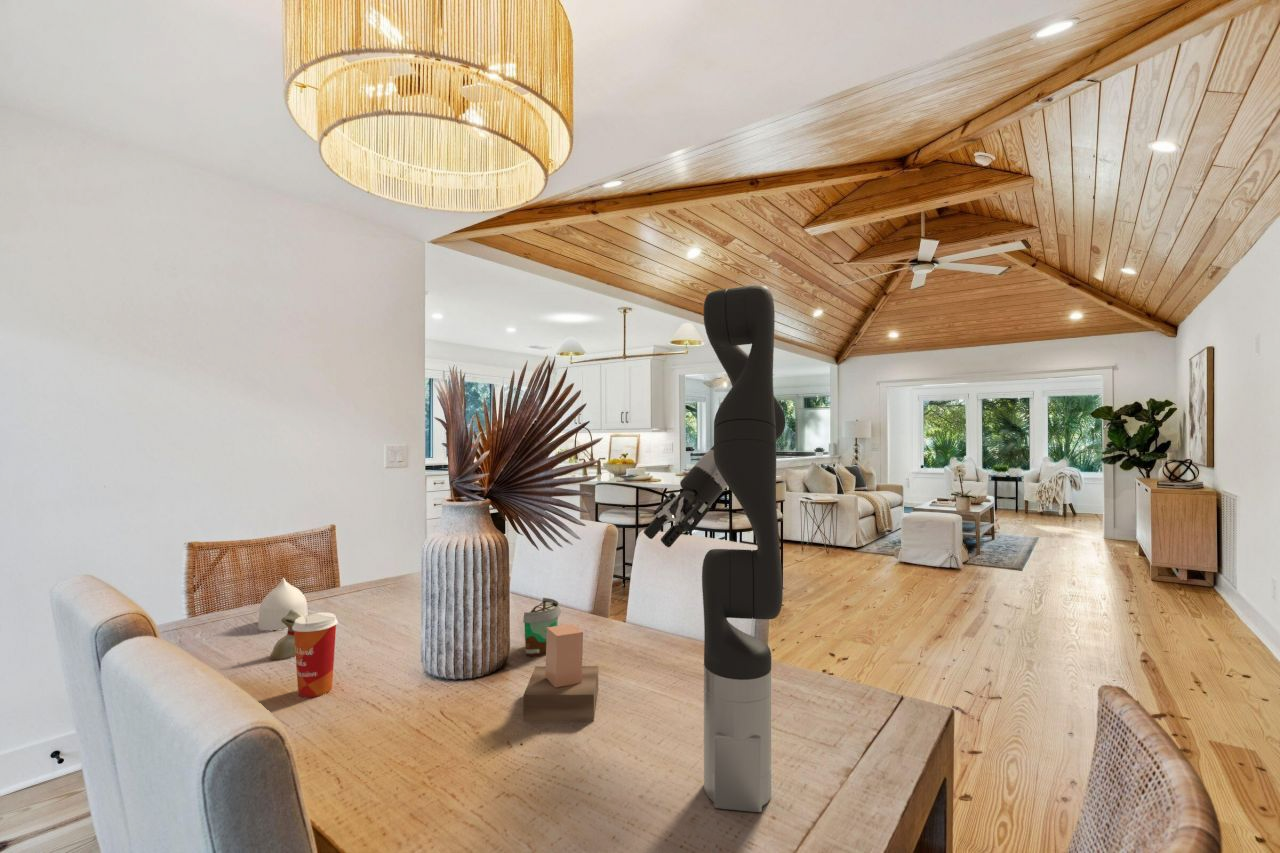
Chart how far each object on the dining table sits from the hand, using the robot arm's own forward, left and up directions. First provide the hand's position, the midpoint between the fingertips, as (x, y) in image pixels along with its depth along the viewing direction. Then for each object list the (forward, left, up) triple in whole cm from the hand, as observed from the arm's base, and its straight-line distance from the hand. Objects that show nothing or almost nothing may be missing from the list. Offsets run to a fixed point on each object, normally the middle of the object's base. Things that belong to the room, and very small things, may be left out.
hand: (655, 540), depth 114 cm
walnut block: (-8, +16, -29) cm, 34 cm away
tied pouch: (+6, +82, -29) cm, 87 cm away
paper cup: (-10, +64, -29) cm, 71 cm away
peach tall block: (-9, +16, -24) cm, 30 cm away
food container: (+17, +27, -29) cm, 43 cm away
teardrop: (+24, +99, -29) cm, 106 cm away
